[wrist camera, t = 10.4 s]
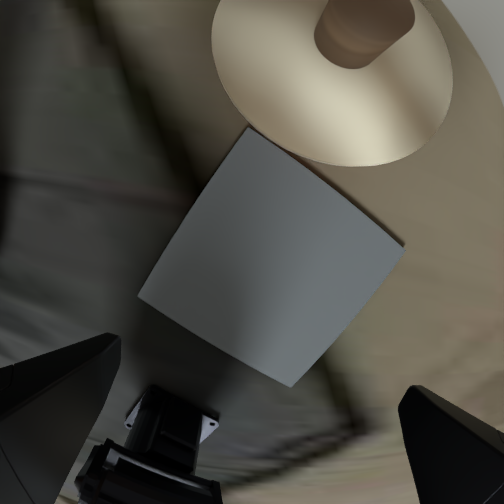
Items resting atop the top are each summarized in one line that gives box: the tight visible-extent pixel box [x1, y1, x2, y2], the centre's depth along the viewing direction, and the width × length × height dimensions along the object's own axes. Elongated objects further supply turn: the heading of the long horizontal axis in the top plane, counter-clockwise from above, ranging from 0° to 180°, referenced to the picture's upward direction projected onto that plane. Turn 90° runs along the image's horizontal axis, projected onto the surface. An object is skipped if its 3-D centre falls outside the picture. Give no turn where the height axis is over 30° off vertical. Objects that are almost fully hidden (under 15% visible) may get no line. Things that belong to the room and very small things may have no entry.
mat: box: [138, 127, 406, 388], centre depth 20 cm, size 13×13×1 cm
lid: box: [211, 0, 453, 167], centre depth 10 cm, size 12×12×5 cm
